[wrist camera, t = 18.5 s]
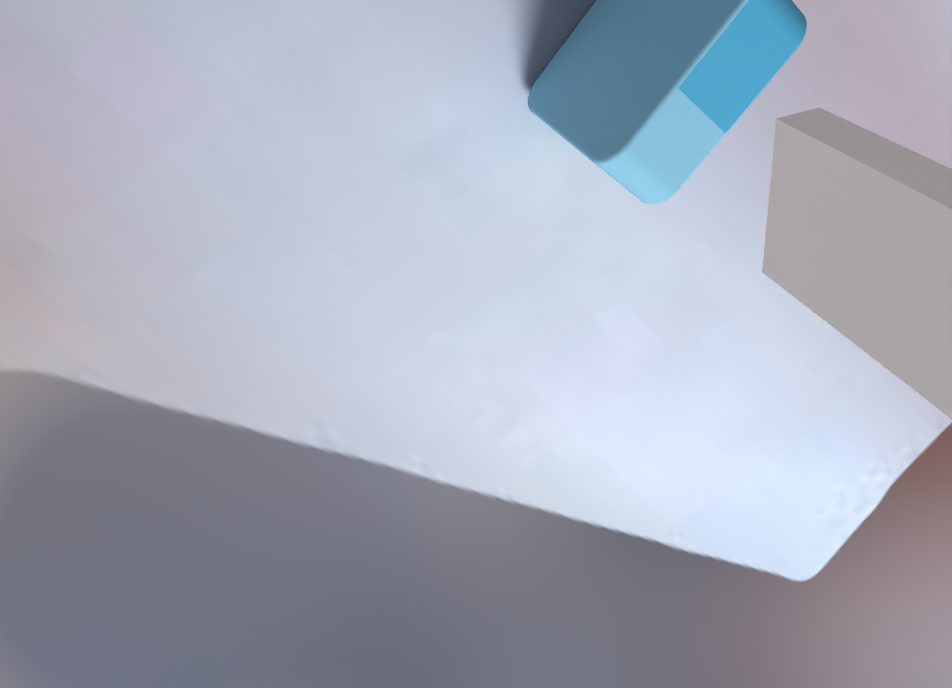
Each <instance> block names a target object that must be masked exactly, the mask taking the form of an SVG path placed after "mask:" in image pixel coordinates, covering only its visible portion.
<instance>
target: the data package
mask: <svg viewBox="0 0 952 688" xmlns="http://www.w3.org/2000/svg"><path fill="white" fill-rule="evenodd" d="M806 28H807V23H806V19H805V16H804V15H803V14H802V12H801V11H800V10H799V9H798V8H797V6H796V5H795V4H794V3H793V2H792V0H596V1H595V2H594V4H593V5H592V6H591V8H590V9H589V10H588V12H587V13H586V14H585V16H584V17H583V18H582V20H581V21H580V22H579V24H578V25H577V26H576V28H575V29H574V30H573V32H572V33H571V34H570V36H569V37H568V38H567V40H566V41H565V42H564V44H563V45H562V46H561V48H560V49H559V50H558V52H557V53H556V54H555V56H554V57H553V58H552V60H551V61H550V62H549V64H548V65H547V66H546V68H545V69H544V70H543V72H542V73H541V74H540V76H539V77H538V78H537V80H536V81H535V83H534V84H533V86H532V88H531V90H530V93H529V96H528V107H529V109H530V110H531V112H533V113H534V114H535V115H536V116H537V117H539V118H540V119H541V120H542V121H543V122H545V123H546V124H547V125H548V126H550V127H551V128H552V129H553V130H554V131H556V132H557V133H558V134H559V135H561V136H562V137H563V138H564V139H565V140H567V141H568V142H569V143H570V144H571V145H573V146H574V147H575V148H576V149H578V150H579V151H580V152H581V153H582V154H584V155H585V156H586V157H587V158H588V159H590V160H591V161H592V162H593V163H595V164H596V165H597V166H598V167H600V168H601V169H602V170H603V171H605V172H606V173H607V174H608V175H610V176H611V177H612V178H613V179H615V180H616V181H617V182H618V183H620V184H621V185H622V186H623V187H625V188H626V189H627V190H628V191H629V192H631V193H632V194H633V195H634V196H636V197H637V198H638V199H639V200H641V201H642V202H644V203H646V204H657V203H661V202H663V201H665V200H667V199H668V198H670V197H671V196H673V195H674V194H675V193H676V192H677V191H678V190H679V189H680V187H681V186H682V185H683V184H684V183H685V182H686V180H687V179H688V178H689V177H690V176H691V174H692V173H693V172H694V171H695V170H696V168H697V167H698V166H699V165H700V164H701V162H702V161H703V160H704V159H705V158H706V156H707V155H708V154H709V153H710V152H711V150H712V149H713V148H714V147H715V146H716V145H717V143H718V142H719V141H720V140H721V139H722V137H723V136H724V135H725V134H726V133H727V131H728V130H729V129H730V128H731V127H732V125H733V124H734V123H735V122H736V121H737V119H738V118H739V117H740V116H741V115H742V114H743V112H744V111H745V110H746V109H747V108H748V106H749V105H750V104H751V103H752V102H753V100H754V99H755V98H756V97H757V96H758V94H759V93H760V92H761V91H762V90H763V88H764V87H765V86H766V85H767V84H768V83H769V81H770V80H771V79H772V78H773V77H774V75H775V74H776V73H777V72H778V71H779V69H780V68H781V67H782V66H783V65H784V63H785V62H786V61H787V60H788V59H789V57H790V56H791V55H792V54H793V53H794V51H795V50H796V49H797V48H798V46H799V45H800V43H801V42H802V40H803V38H804V36H805V33H806Z"/></svg>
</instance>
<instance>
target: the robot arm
mask: <svg viewBox="0 0 952 688" xmlns="http://www.w3.org/2000/svg"><path fill="white" fill-rule="evenodd" d="M762 272H763V273H764V274H765V275H767V276H768V277H769V278H771V279H772V280H773V281H774V282H776V283H777V284H778V285H780V286H781V287H782V288H783V289H785V290H786V291H787V292H789V293H790V294H791V295H792V296H794V297H795V298H796V299H798V300H799V301H800V302H801V303H803V304H804V305H805V306H807V307H808V308H809V309H811V310H812V311H813V312H814V313H816V314H817V315H818V316H820V317H821V318H822V319H823V320H825V321H826V322H827V323H829V324H830V325H831V326H832V327H834V328H835V329H836V330H838V331H839V332H840V333H841V334H843V335H844V336H845V337H847V338H848V339H849V340H850V341H852V342H853V343H854V344H856V345H857V346H858V347H860V348H861V349H862V350H863V351H865V352H866V353H867V354H869V355H870V356H871V357H872V358H874V359H875V360H876V361H878V362H879V363H880V364H881V365H883V366H884V367H885V368H887V369H888V370H889V371H890V372H892V373H893V374H894V375H896V376H897V377H898V378H900V379H901V380H902V381H903V382H905V383H906V384H907V385H909V386H910V387H911V388H912V389H914V390H915V391H916V392H918V393H919V394H920V395H921V396H923V397H924V398H925V399H927V400H928V401H929V402H930V403H932V404H933V405H934V406H936V407H937V408H938V409H939V410H941V411H942V412H943V413H945V414H946V415H947V416H949V417H950V418H951V419H952V169H950V168H948V167H946V166H944V165H941V164H939V163H937V162H935V161H933V160H931V159H929V158H926V157H924V156H922V155H920V154H918V153H916V152H914V151H911V150H909V149H907V148H905V147H903V146H901V145H899V144H896V143H894V142H892V141H890V140H888V139H886V138H883V137H881V136H879V135H877V134H875V133H873V132H871V131H868V130H866V129H864V128H862V127H860V126H858V125H856V124H853V123H851V122H849V121H847V120H845V119H843V118H841V117H838V116H836V115H834V114H832V113H830V112H828V111H826V110H823V109H821V108H816V109H812V110H808V111H805V112H801V113H797V114H793V115H789V116H786V117H782V118H778V119H776V129H775V140H774V151H773V162H772V173H771V183H770V194H769V205H768V216H767V227H766V237H765V248H764V259H763V270H762Z"/></svg>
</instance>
